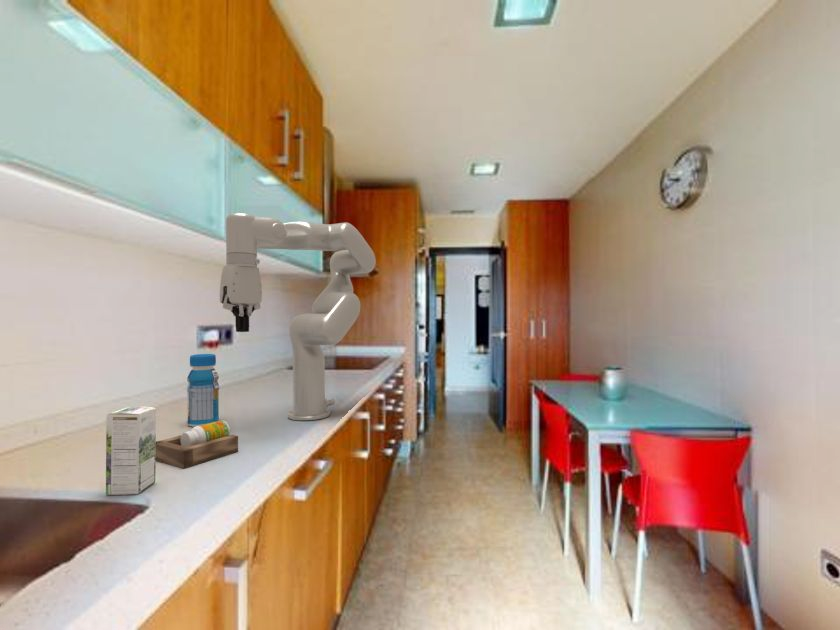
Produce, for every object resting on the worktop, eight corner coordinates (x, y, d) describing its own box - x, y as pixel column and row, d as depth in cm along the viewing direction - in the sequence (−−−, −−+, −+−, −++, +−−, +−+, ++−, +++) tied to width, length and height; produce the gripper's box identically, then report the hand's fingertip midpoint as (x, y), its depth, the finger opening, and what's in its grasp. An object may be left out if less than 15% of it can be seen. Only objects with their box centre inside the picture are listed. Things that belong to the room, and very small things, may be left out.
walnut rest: (205, 444, 109) (205, 429, 109) (238, 451, 103) (238, 435, 103) (151, 459, 98) (151, 442, 98) (183, 468, 92) (183, 451, 92)
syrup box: (124, 483, 84) (124, 406, 84) (157, 482, 84) (156, 405, 84) (105, 496, 78) (104, 413, 78) (140, 494, 79) (139, 412, 79)
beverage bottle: (196, 429, 123) (195, 356, 123) (181, 424, 128) (180, 355, 128) (225, 423, 130) (224, 354, 130) (210, 419, 135) (209, 353, 135)
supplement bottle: (234, 435, 106) (195, 446, 97) (222, 446, 108) (184, 458, 100) (225, 415, 107) (186, 424, 99) (214, 427, 110) (175, 437, 101)
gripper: (255, 265, 125) (256, 330, 125) (206, 259, 112) (207, 332, 113) (274, 263, 122) (274, 330, 122) (225, 257, 109) (226, 333, 109)
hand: (242, 331), depth 117 cm, fingers closed
